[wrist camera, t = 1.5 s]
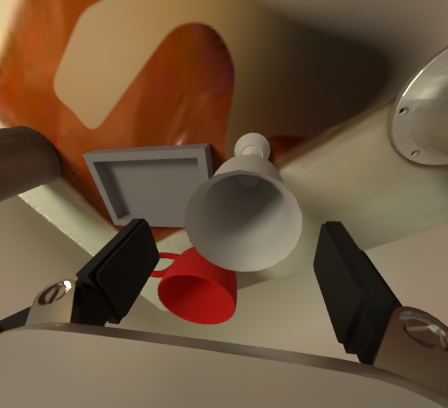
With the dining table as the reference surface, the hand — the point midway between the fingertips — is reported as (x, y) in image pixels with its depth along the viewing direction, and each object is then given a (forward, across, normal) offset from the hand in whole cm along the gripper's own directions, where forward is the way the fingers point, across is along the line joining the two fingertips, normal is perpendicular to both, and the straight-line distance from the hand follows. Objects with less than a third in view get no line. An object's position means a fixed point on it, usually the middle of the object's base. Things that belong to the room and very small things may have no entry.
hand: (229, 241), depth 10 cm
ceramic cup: (+20, +10, +20) cm, 29 cm away
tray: (+19, +15, +5) cm, 25 cm away
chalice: (+19, -1, 0) cm, 19 cm away
